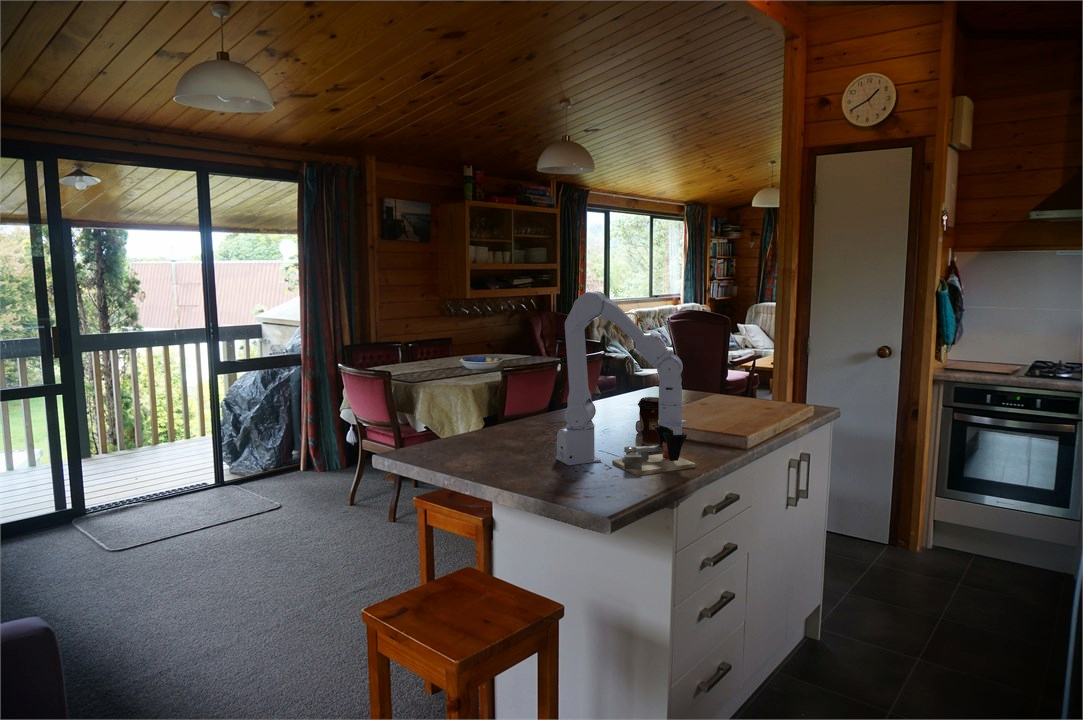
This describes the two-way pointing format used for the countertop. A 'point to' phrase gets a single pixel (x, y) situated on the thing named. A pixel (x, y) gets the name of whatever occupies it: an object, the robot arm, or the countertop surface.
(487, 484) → the countertop surface
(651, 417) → the coffee cup
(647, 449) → the lever
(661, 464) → the cracker base
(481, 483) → the countertop surface
